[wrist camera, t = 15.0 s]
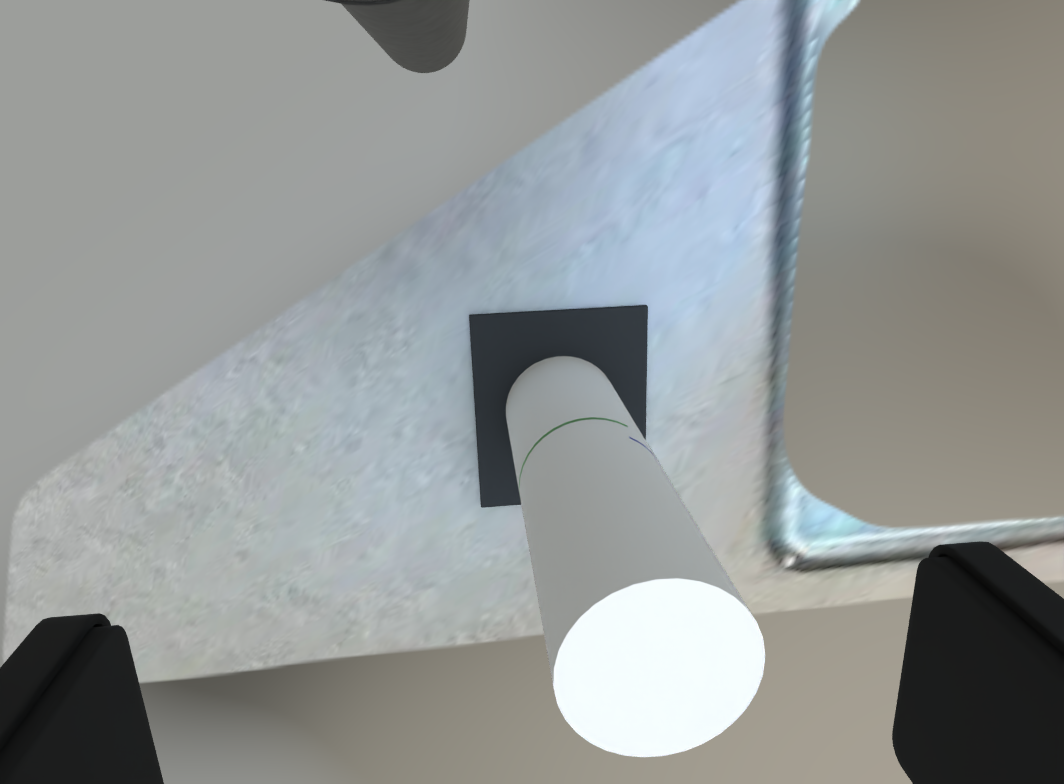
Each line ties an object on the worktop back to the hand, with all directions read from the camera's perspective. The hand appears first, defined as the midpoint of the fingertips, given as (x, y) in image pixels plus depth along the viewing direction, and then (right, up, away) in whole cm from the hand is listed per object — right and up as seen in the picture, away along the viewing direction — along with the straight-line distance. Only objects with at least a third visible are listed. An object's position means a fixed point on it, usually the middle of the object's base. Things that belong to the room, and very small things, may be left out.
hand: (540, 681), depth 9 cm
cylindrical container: (+2, +2, +40) cm, 40 cm away
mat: (+2, +2, +40) cm, 40 cm away
